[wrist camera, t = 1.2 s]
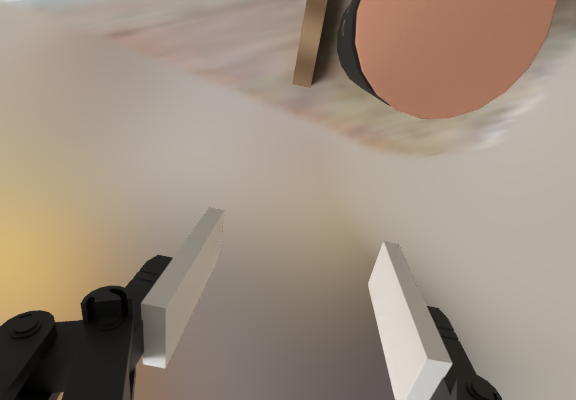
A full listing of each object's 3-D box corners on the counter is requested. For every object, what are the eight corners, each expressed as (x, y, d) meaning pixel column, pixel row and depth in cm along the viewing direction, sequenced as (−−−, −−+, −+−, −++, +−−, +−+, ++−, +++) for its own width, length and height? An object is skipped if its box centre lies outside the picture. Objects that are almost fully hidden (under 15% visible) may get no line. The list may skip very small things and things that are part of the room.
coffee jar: (417, -44, 30) (536, -161, 14) (450, 61, 34) (576, 64, 18) (319, 18, 33) (323, -21, 17) (359, 108, 37) (395, 149, 20)
